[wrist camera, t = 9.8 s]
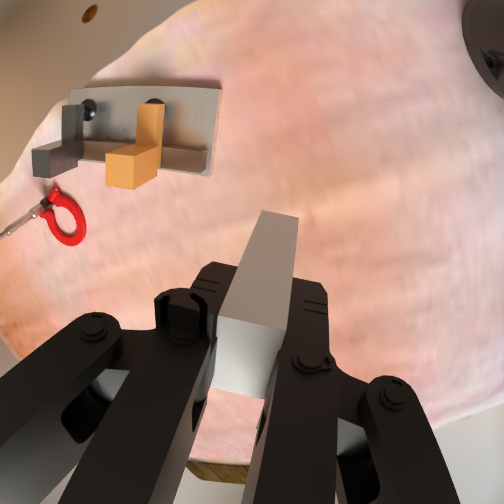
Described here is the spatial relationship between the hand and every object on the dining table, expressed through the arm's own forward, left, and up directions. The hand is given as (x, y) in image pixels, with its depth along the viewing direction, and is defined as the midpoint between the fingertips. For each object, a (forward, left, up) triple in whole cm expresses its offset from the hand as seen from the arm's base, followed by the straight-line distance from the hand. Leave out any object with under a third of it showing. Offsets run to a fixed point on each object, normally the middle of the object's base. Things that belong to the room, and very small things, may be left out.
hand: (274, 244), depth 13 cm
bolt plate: (-1, -19, -22) cm, 30 cm away
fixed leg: (0, -27, -21) cm, 34 cm away
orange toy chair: (0, -15, -21) cm, 26 cm away
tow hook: (+14, -33, -23) cm, 42 cm away
